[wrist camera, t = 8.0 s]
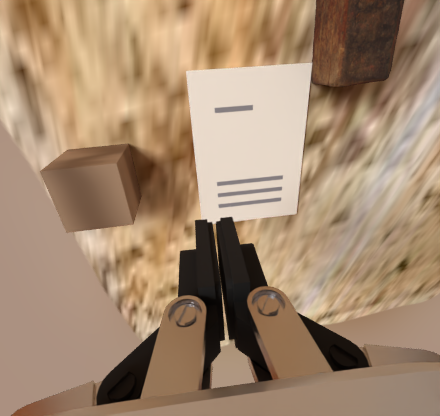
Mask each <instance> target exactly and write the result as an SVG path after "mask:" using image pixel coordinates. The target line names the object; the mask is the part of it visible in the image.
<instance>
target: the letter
mask: <svg viewBox="0 0 440 416" xmlns="http://www.w3.org/2000/svg"><path fill="white" fill-rule="evenodd" d="M311 70H312V63H300V64H285V65H270V66H254V67H239V68H224V69H209V70H193V71H186V75H187V85H188V94H189V104H190V113H191V123H192V132H193V142H194V151H195V161H196V171H197V180H198V190H199V199H200V209H201V218H202V220H203V219H207V222H212V224H216V221H220V218H224V217H232V218H233V221H242V220H250V219H259V218H267V217H276V216H284V215H293V214H297V205H298V195H299V185H300V176H301V166H302V157H303V147H304V138H305V128H306V118H307V109H308V99H309V90H310V80H311Z"/></svg>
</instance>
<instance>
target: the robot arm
mask: <svg viewBox="0 0 440 416" xmlns="http://www.w3.org/2000/svg"><path fill="white" fill-rule="evenodd" d="M195 230H196V249H194V250H184V251H180V265H179V288H178V298H176V299H174V300H173V301H171V302H170V303H169V304H168V305H167V306H166V308H165V311H164V313H163V317H162V321H161V324H160V327H159V328H158V329H157V330H156V331H154V332H153V333H152V334H151V335H150V336H149V337H148V338H147V339H146V340H145V341H144V342H142V343H141V344H140V345H139V346H138V347H137V348H136V349H135V350H134V351H133V352H132V353H131V354H129V355H128V356H127V357H126V358H125V359H124V360H123V361H122V362H121V363H120V364H119V365H118V366H116V367H115V368H114V369H113V370H112V371H111V372H110V373H109V374H108V375H107V376H106V378H105V379H104V380H103V381H101V382H98V383H94V381H91V382H88V383H86V384H83V385H80V386H77V387H74V388H72V389H69V390H66V391H63V392H61V393H58V394H55V395H53V396H50V397H47V398H44V399H42V400H39V401H36V402H33V403H31V404H28V405H26V406H24V407H22V408H20V409H18V410H17V411H16V412H15V413H13V414H12V415H11V416H440V355H438V354H436V353H434V352H431V351H427V350H421V349H410V348H400V347H389V346H379V345H368V344H365V345H364V347H358V346H357V345H355V344H354V343H352V342H351V341H349V340H347V339H346V338H344V337H342V336H340V335H338V334H336V333H334V332H333V331H331V330H329V329H327V328H325V327H323V326H322V325H320V324H318V323H316V322H314V321H312V320H310V319H309V318H307V317H305V316H303V315H301V314H299V313H297V312H296V310H295V308H294V307H293V305H292V304H291V302H290V300H289V299H288V297H287V296H286V295H285V294H284V293H283V292H282V291H281V290H279V289H277V288H274V287H269V286H268V285H267V282H266V279H265V276H264V273H263V271H262V268H261V265H260V262H259V259H258V256H257V253H256V250H255V247H254V245H253V244H252V243H250V244H241V245H240V243H239V239H238V236H237V232H236V228H235V225H234V221H233V218H232V217H224V218H220V221H216V232H217V246H218V259H217V252H216V245H215V238H214V231H213V224H212V222H207V219H203V220H195ZM218 260H219V266H218ZM219 272H220V273H219ZM220 279H221V281H220ZM221 286H222V290H221ZM222 293H223V300H224V307H225V314H226V321H227V328H228V335H229V340H231V339H234V340H235V346H236V348H238V350H239V351H241V352H242V353H244V354H245V355H247V359H248V363H249V366H250V369H251V372H252V375H253V378H254V381H255V383H249V384H241V385H234V386H227V387H220V388H213V389H211V385H212V370H213V366H212V362H213V361H214V359H215V358H216V357H217V356H218V354H219V353H220V352H221V349H220V341H223V340H225V334H224V319H223V304H222Z"/></svg>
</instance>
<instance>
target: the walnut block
mask: <svg viewBox="0 0 440 416" xmlns="http://www.w3.org/2000/svg"><path fill="white" fill-rule="evenodd" d="M40 173H41V175H42V177H43V180H44V182H45V184H46V186H47V189H48V191H49V193H50V196H51V198H52V200H53V203H54V205H55V207H56V209H57V212H58V214H59V216H60V219H61V221H62V223H63V225H64V228H65V230H66V232H67V233H68V232H76V231H84V230H92V229H100V228H108V227H116V226H124V225H132V224H133V223H134V220H135V217H136V213H137V210H138V206H139V203H140V199H141V193H140V189H139V184H138V180H137V176H136V172H135V168H134V164H133V160H132V155H131V151H130V147H129V144H121V145H111V146H101V147H91V148H81V149H71V150H67V151H65V152H64V153H63V154H62V155H60V156H59V157H58V158H56V159H55V160H54V161H53V162H51V163H50V164H49V165H48V166H46V167H45V168H44V169H42V170H41V171H40Z"/></svg>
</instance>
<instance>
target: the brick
mask: <svg viewBox="0 0 440 416" xmlns="http://www.w3.org/2000/svg"><path fill="white" fill-rule="evenodd" d="M403 3H404V0H316V16H315V29H314V42H313V60H312V83H314V84H321V85H328V86H334V87H345V86H350V85H356V84H362V83H369V82H376V81H384V80H386V79H387V78H388V77H389V73H390V71H391V67H392V61H393V55H394V49H395V43H396V39H397V35H398V31H399V24H400V19H401V14H402V9H403Z"/></svg>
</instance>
